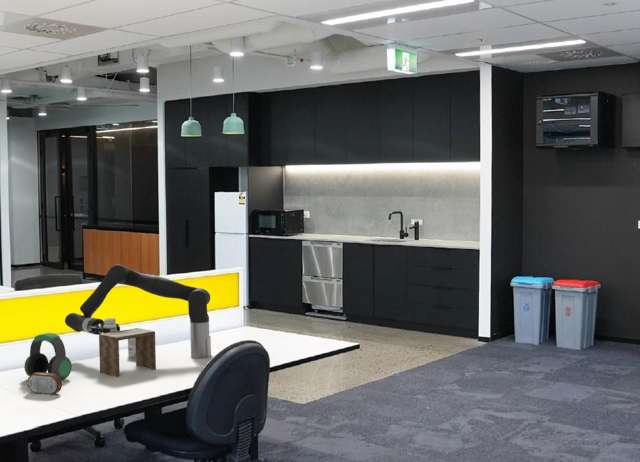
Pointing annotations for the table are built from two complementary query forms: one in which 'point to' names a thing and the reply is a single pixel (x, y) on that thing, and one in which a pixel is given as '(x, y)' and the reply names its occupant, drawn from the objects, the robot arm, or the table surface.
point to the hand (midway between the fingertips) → (112, 329)
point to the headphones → (40, 362)
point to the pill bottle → (110, 325)
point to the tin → (44, 383)
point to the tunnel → (111, 349)
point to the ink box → (132, 347)
